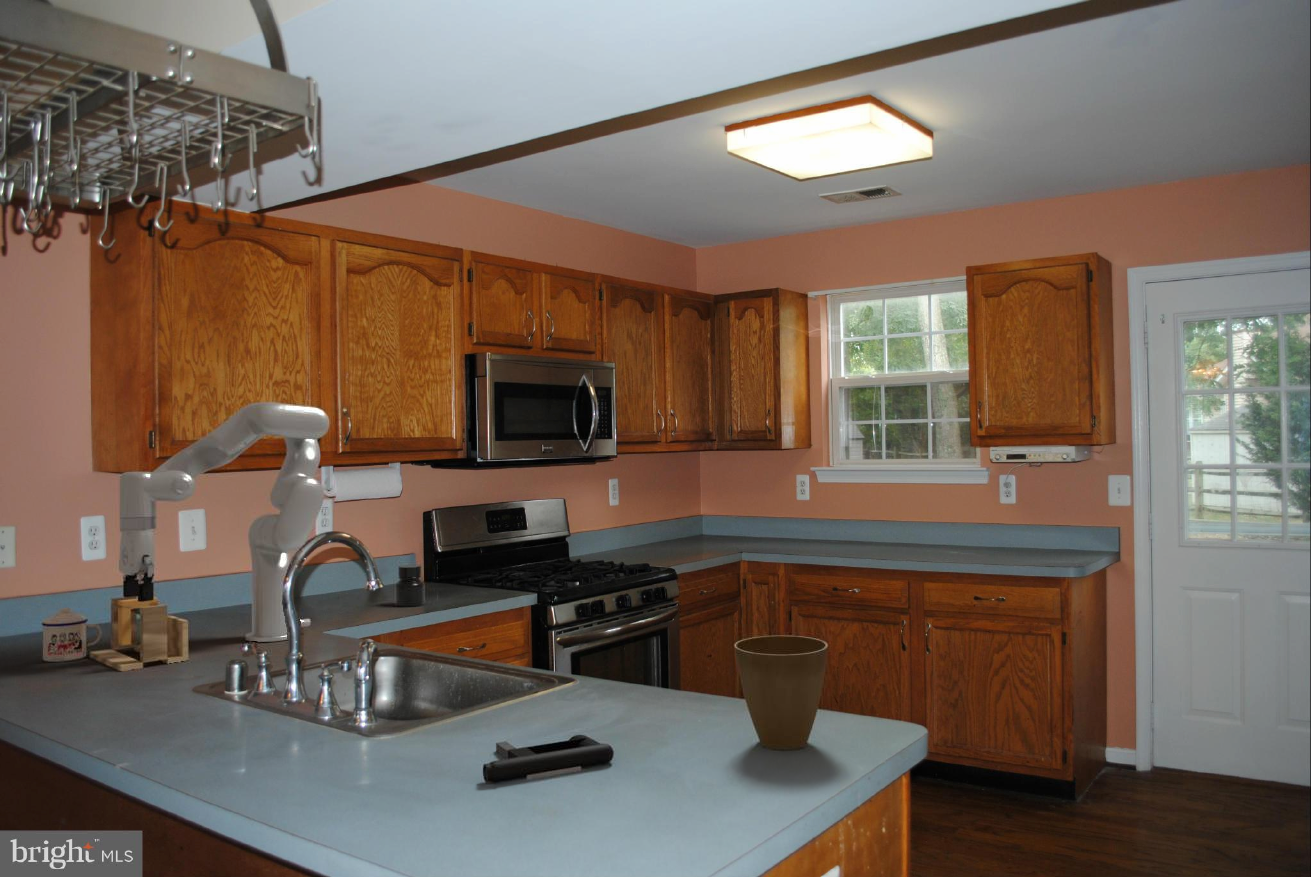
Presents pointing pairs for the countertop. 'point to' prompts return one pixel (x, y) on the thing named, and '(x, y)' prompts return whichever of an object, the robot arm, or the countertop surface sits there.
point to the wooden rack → (147, 638)
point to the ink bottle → (409, 587)
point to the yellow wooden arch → (129, 617)
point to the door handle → (546, 759)
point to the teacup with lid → (66, 636)
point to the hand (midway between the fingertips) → (138, 598)
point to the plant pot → (782, 686)
